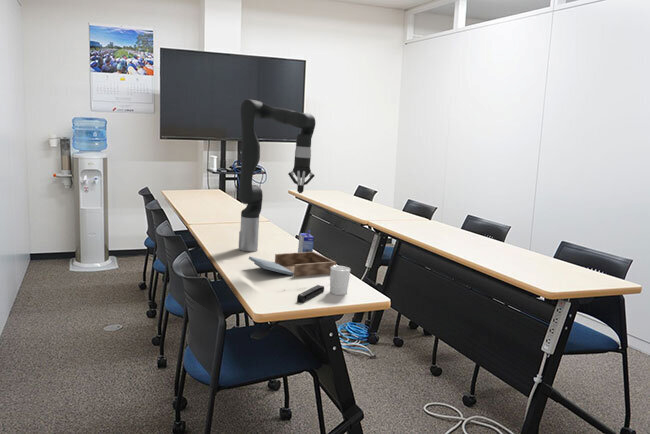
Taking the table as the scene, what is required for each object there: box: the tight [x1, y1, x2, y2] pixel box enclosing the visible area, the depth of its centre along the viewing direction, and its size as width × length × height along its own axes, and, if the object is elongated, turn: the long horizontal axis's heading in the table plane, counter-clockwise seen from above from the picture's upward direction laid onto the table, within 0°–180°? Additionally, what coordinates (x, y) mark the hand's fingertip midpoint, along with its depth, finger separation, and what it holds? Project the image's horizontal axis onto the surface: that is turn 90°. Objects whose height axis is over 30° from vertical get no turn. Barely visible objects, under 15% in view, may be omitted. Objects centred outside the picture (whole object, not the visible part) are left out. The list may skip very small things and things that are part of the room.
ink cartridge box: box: [297, 229, 315, 253], centre depth 256 cm, size 10×6×14 cm, turn 15°
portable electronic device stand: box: [296, 284, 325, 304], centre depth 200 cm, size 18×3×3 cm, turn 154°
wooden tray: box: [274, 251, 337, 278], centre depth 233 cm, size 20×20×6 cm
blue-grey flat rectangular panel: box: [248, 256, 294, 276], centre depth 224 cm, size 2×17×14 cm
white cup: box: [329, 265, 351, 296], centre depth 207 cm, size 8×8×10 cm
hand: (300, 193), depth 248 cm, fingers closed
